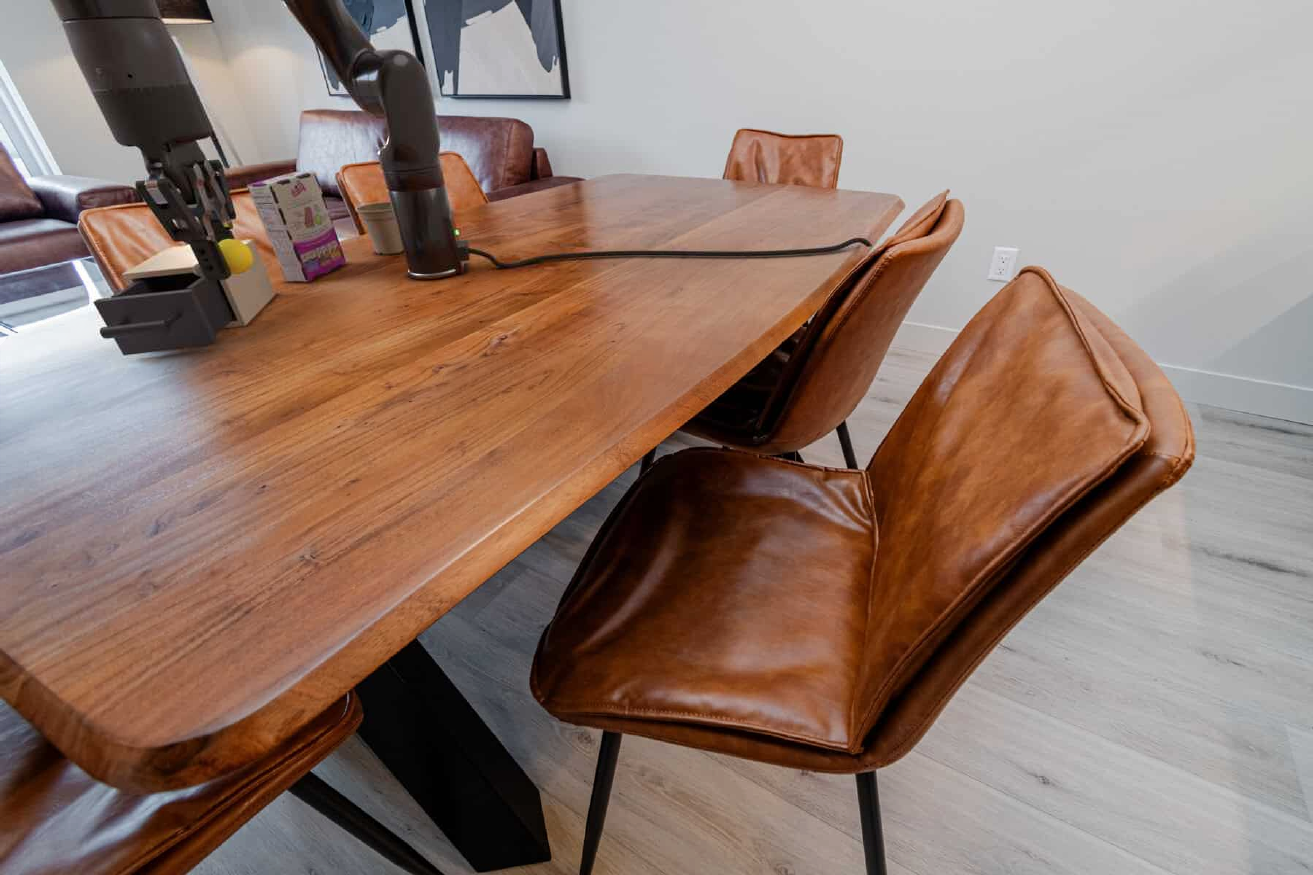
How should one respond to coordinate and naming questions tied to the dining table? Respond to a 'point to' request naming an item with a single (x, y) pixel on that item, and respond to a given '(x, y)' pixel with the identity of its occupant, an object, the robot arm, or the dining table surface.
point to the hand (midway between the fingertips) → (227, 272)
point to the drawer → (165, 313)
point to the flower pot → (381, 227)
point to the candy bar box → (298, 225)
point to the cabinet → (240, 289)
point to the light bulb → (232, 257)
